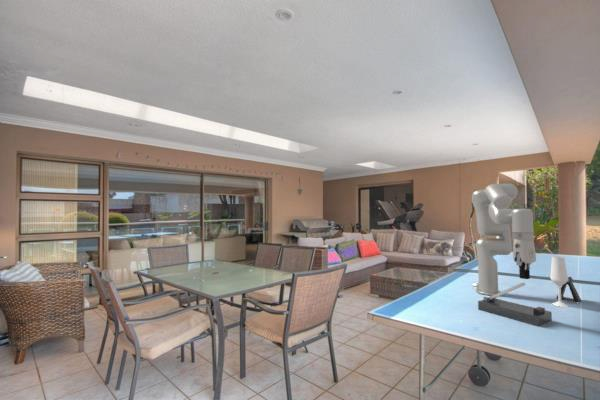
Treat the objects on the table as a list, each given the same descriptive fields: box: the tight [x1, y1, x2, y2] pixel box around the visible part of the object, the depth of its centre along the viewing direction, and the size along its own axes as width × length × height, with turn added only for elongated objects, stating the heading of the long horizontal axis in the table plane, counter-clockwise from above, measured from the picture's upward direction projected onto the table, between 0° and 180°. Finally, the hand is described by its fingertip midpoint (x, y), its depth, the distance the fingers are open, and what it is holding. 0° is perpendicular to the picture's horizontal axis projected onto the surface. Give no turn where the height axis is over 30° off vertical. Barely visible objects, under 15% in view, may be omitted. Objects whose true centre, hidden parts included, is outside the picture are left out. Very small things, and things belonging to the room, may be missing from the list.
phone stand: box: [555, 275, 582, 303], centre depth 156 cm, size 9×6×12 cm, turn 39°
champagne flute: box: [549, 255, 569, 308], centre depth 147 cm, size 7×7×24 cm
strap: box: [487, 282, 527, 300], centre depth 135 cm, size 18×4×1 cm
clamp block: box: [477, 295, 553, 328], centre depth 132 cm, size 24×12×6 cm, turn 29°
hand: (524, 278), depth 128 cm, fingers closed
